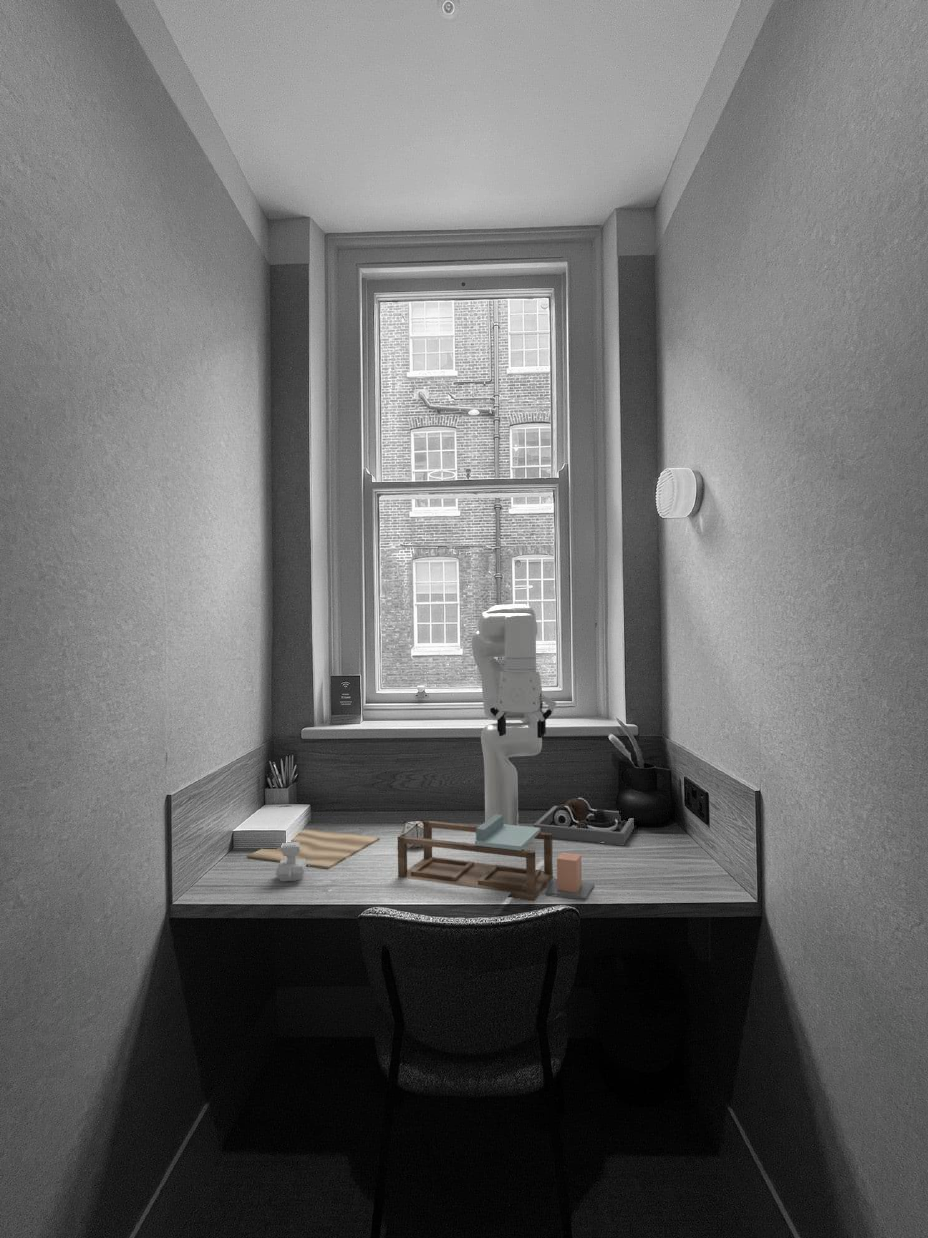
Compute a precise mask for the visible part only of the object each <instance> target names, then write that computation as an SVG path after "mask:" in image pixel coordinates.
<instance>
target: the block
mask: <svg viewBox="0 0 928 1238" xmlns="http://www.w3.org/2000/svg"><path fill="white" fill-rule="evenodd" d="M556 879H557V890H563V891H570V892H578V890H579V889H580V887H581V886H582V882H583V881H582V854H578V853H570V852H560V854H559V856H558V857H557V858H556Z"/></svg>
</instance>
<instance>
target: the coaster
mask: <svg viewBox="0 0 928 1238" xmlns="http://www.w3.org/2000/svg"><path fill="white" fill-rule="evenodd" d="M594 887H595V883H593V882H586V881H582V886H581V887H580V889H579V890H578V892H570V891H563V890H557V878H554V880H553V881H552V883H551V884H550V885H549V887H548V888H547V889H546V890H545V891H544V892H545V894H546V896H551V895H557V896H556V897H558V896H561V897H560V898H566V897H568V898H567V899H573V898H575V900H582V901H586V900H587V898H588V897H589V895H590V893H591V892H592V890H593V889H594ZM592 888H593V889H592Z"/></svg>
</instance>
